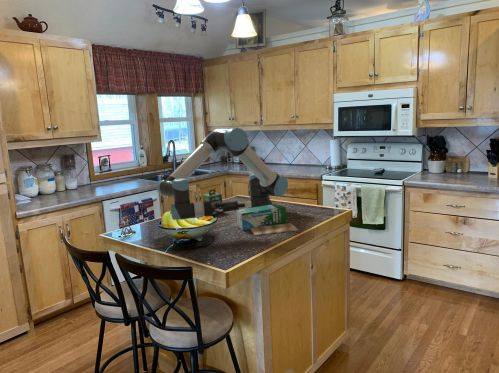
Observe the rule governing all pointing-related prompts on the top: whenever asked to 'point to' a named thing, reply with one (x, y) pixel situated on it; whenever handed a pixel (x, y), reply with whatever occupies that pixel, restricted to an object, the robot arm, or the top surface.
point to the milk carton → (261, 216)
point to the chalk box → (212, 198)
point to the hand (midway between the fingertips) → (251, 204)
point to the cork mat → (273, 229)
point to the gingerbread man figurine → (126, 225)
